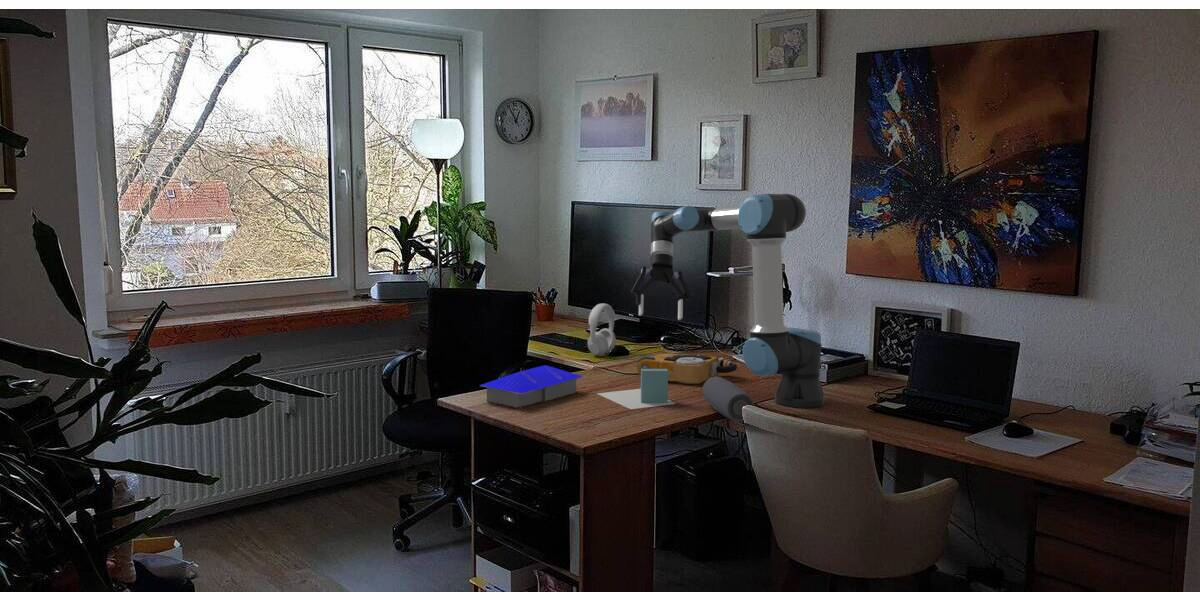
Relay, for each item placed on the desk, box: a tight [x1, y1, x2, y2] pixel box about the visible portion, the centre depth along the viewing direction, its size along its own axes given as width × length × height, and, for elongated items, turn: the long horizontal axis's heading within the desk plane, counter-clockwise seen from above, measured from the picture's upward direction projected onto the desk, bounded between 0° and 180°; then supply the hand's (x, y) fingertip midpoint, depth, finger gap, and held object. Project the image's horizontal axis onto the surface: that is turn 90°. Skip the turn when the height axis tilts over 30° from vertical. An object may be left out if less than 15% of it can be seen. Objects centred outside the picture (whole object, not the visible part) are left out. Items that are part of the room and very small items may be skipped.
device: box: [636, 353, 738, 385], centre depth 336 cm, size 23×8×30 cm
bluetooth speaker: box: [701, 376, 755, 423], centre depth 286 cm, size 23×9×10 cm, turn 12°
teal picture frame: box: [640, 369, 669, 403], centre depth 300 cm, size 8×3×10 cm, turn 92°
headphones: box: [586, 303, 617, 357], centre depth 375 cm, size 18×8×20 cm, turn 156°
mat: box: [597, 388, 677, 410], centre depth 305 cm, size 22×16×1 cm
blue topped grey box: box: [479, 364, 584, 408], centre depth 308 cm, size 30×17×9 cm, turn 144°
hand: (660, 316), depth 321 cm, fingers open, 13 cm apart
